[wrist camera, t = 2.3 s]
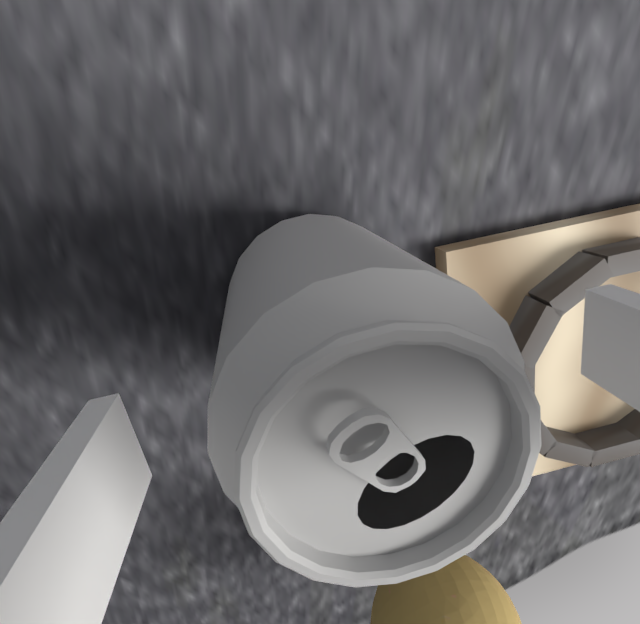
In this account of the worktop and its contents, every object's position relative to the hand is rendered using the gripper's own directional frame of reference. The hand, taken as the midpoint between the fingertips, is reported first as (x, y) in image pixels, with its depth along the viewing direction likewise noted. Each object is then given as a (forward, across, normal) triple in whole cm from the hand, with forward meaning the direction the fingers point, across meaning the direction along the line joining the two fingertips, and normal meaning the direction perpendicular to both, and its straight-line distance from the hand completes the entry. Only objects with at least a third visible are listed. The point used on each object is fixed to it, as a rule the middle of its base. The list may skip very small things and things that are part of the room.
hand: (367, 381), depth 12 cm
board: (+8, +13, -6) cm, 17 cm away
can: (+8, 0, 0) cm, 8 cm away
